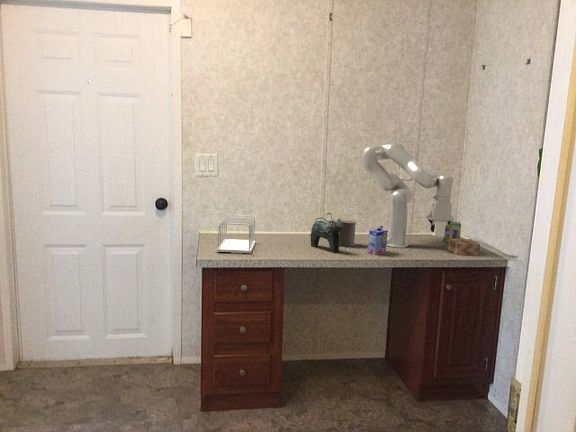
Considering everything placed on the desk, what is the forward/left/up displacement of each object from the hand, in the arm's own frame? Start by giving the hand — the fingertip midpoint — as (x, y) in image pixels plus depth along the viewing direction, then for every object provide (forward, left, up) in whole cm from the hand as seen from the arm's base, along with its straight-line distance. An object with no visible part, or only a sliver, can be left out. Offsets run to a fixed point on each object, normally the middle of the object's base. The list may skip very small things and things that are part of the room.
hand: (438, 231), depth 270 cm
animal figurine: (-61, -2, -11) cm, 62 cm away
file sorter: (-107, -2, -11) cm, 108 cm away
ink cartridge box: (-34, -7, -11) cm, 36 cm away
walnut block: (+14, -2, -11) cm, 18 cm away
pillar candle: (-48, +9, -11) cm, 50 cm away
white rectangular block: (0, 0, -2) cm, 2 cm away
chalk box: (+17, +25, -11) cm, 32 cm away
